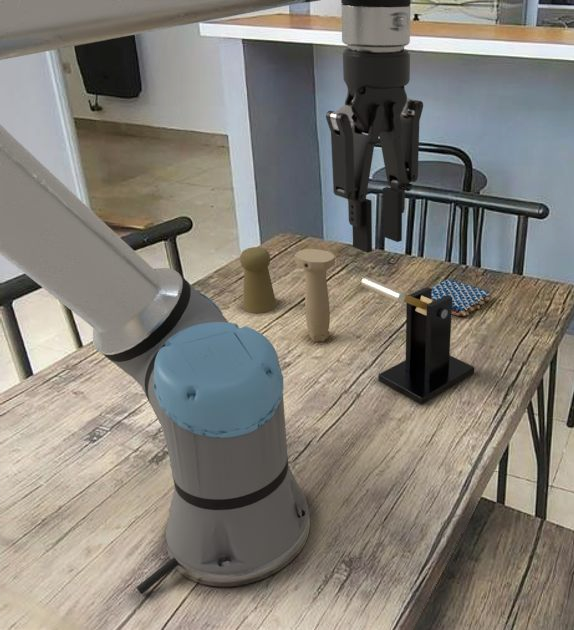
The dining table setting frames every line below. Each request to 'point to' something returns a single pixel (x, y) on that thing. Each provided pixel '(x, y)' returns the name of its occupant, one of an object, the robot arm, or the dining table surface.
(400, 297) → the lever
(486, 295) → the woven mat
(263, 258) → the olive pawn shaped figure
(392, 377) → the bracket
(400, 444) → the dining table surface
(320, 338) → the handle
